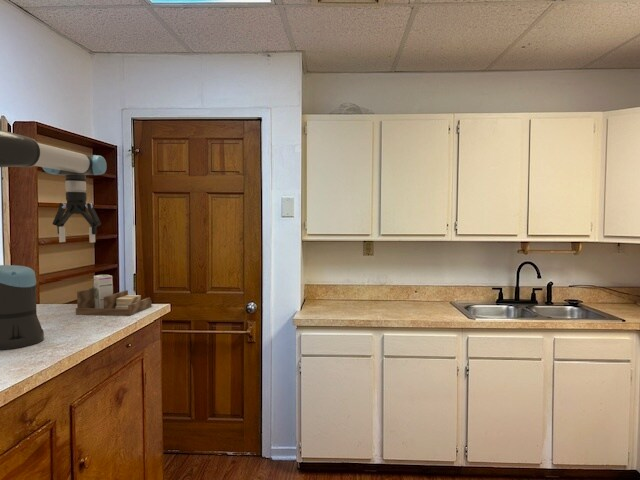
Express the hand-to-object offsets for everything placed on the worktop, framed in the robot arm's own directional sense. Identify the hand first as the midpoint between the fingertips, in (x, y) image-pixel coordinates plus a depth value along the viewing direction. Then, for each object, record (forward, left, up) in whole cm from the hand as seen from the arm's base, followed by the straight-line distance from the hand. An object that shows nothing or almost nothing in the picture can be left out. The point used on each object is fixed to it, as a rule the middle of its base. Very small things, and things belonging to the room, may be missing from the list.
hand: (77, 242), depth 176 cm
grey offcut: (-3, -24, -28) cm, 37 cm away
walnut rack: (-3, -18, -28) cm, 33 cm away
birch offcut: (-2, -24, -25) cm, 35 cm away
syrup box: (-3, -13, -28) cm, 31 cm away
